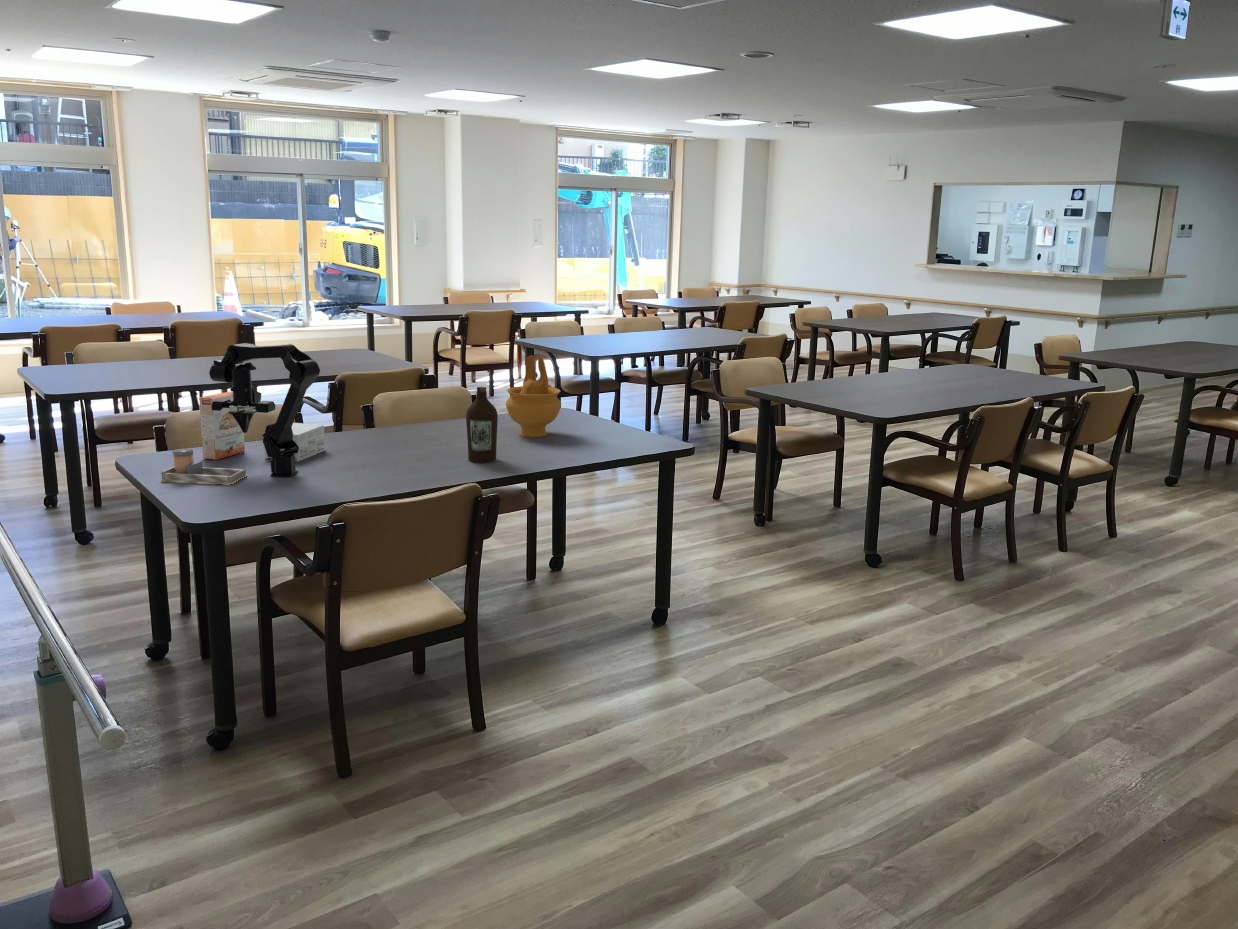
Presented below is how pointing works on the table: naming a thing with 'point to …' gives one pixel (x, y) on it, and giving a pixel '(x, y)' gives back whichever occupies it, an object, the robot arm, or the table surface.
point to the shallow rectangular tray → (205, 476)
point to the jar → (182, 460)
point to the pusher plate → (195, 468)
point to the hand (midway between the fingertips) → (245, 432)
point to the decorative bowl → (533, 401)
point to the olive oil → (481, 429)
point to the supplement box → (307, 440)
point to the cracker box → (219, 429)
